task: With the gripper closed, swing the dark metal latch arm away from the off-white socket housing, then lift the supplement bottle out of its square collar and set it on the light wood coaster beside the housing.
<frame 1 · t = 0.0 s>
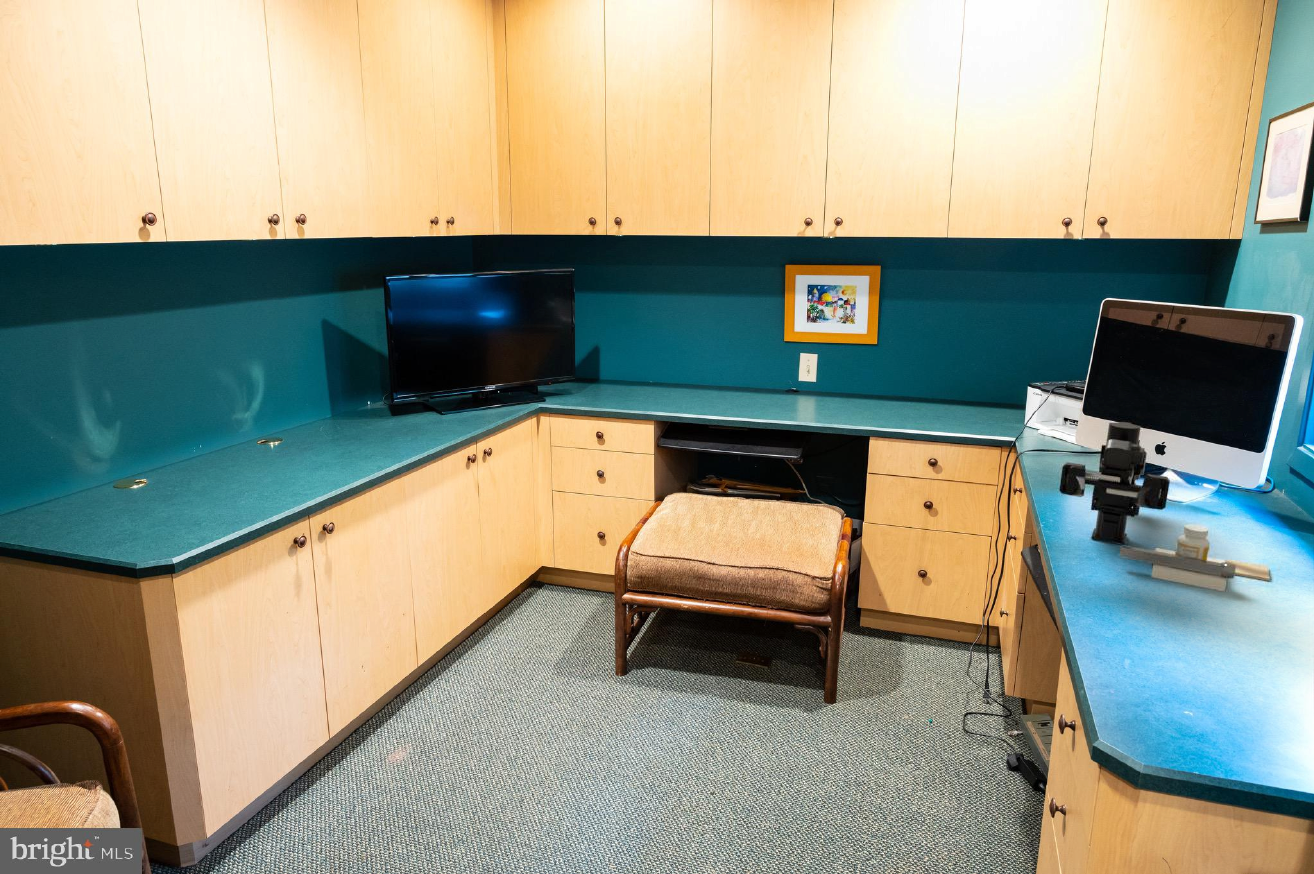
hand: (1109, 496, 163), 17 cm above the table, tool horizontal, fingers open, 9 cm apart
latch arm: (1176, 560, 168), point 3 cm above the table, hinge at 0.0°
socket housing: (1187, 573, 170), on the table
coaster: (1246, 570, 172), on the table
supplement bottle: (1187, 574, 170), resting in socket housing
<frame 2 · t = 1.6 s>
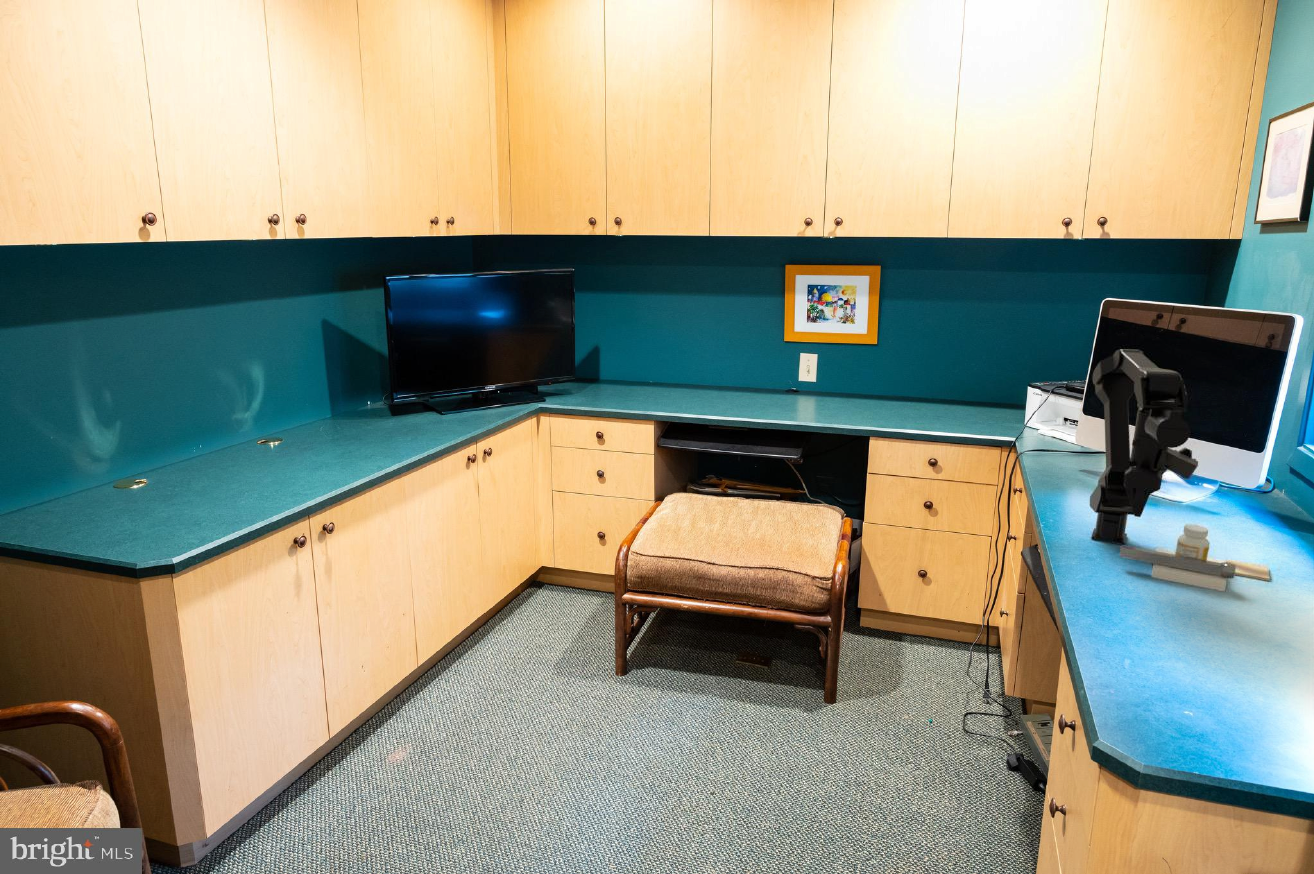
hand: (1138, 511, 172), 11 cm above the table, tool pointing down, fingers open, 8 cm apart
nothing on the table moved.
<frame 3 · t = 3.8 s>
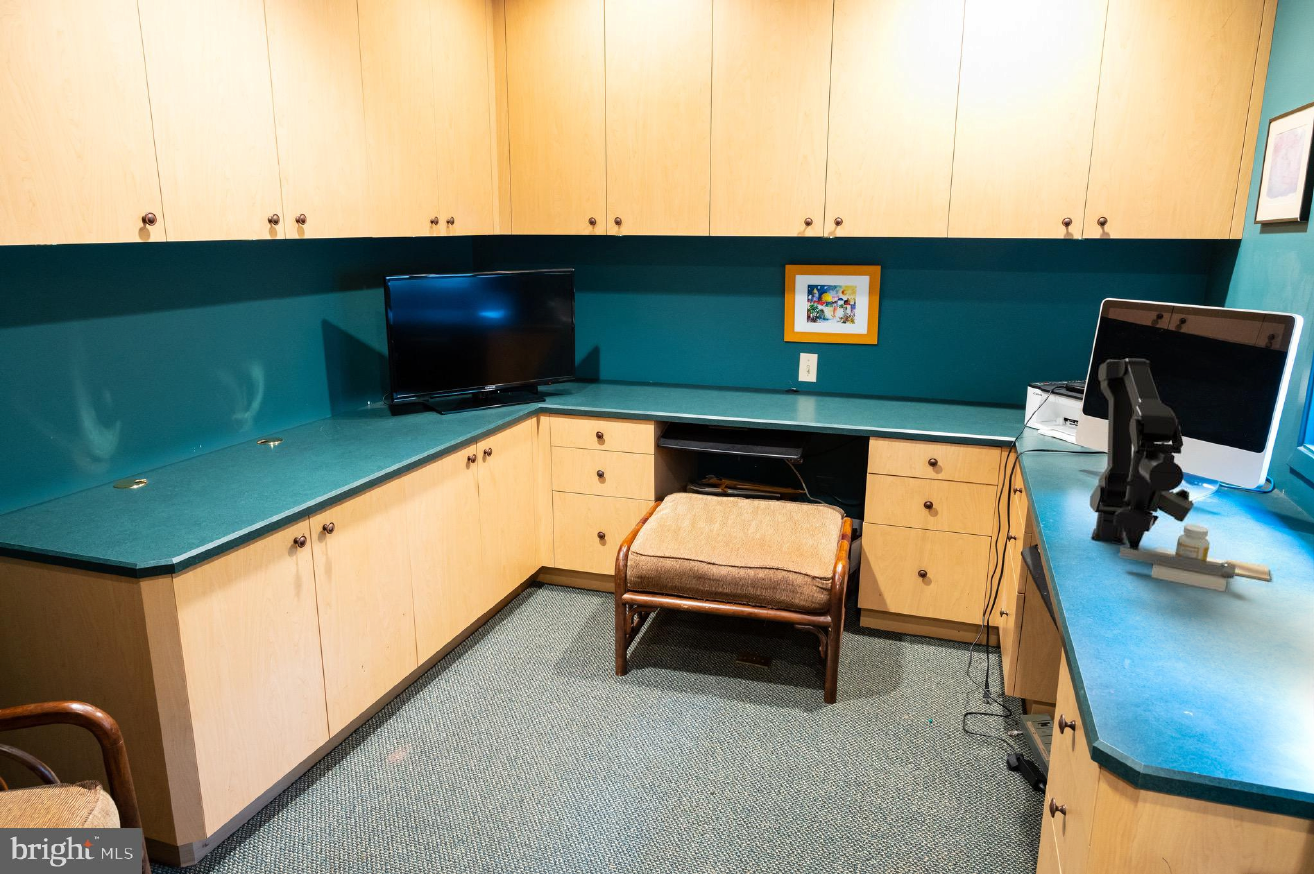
hand: (1133, 550, 173), 3 cm above the table, tool pointing down, fingers closed
latch arm: (1176, 560, 168), point 3 cm above the table, hinge at 0.1°, touching gripper
everything else where it was.
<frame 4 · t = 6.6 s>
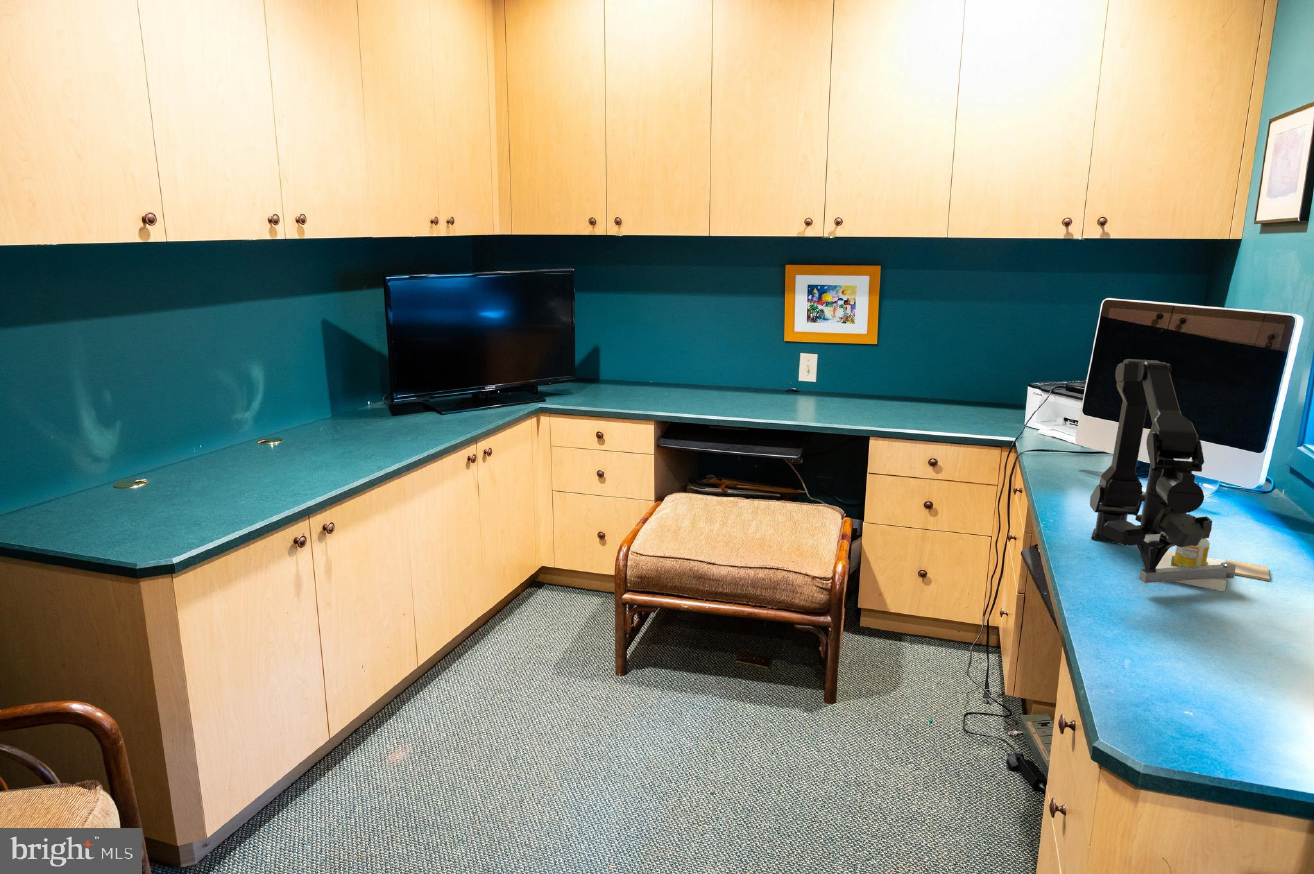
hand: (1149, 571, 162), 3 cm above the table, tool pointing down, fingers closed, pressing on latch arm
latch arm: (1188, 572, 162), point 3 cm above the table, hinge at 41.5°, touching gripper
everything else where it was.
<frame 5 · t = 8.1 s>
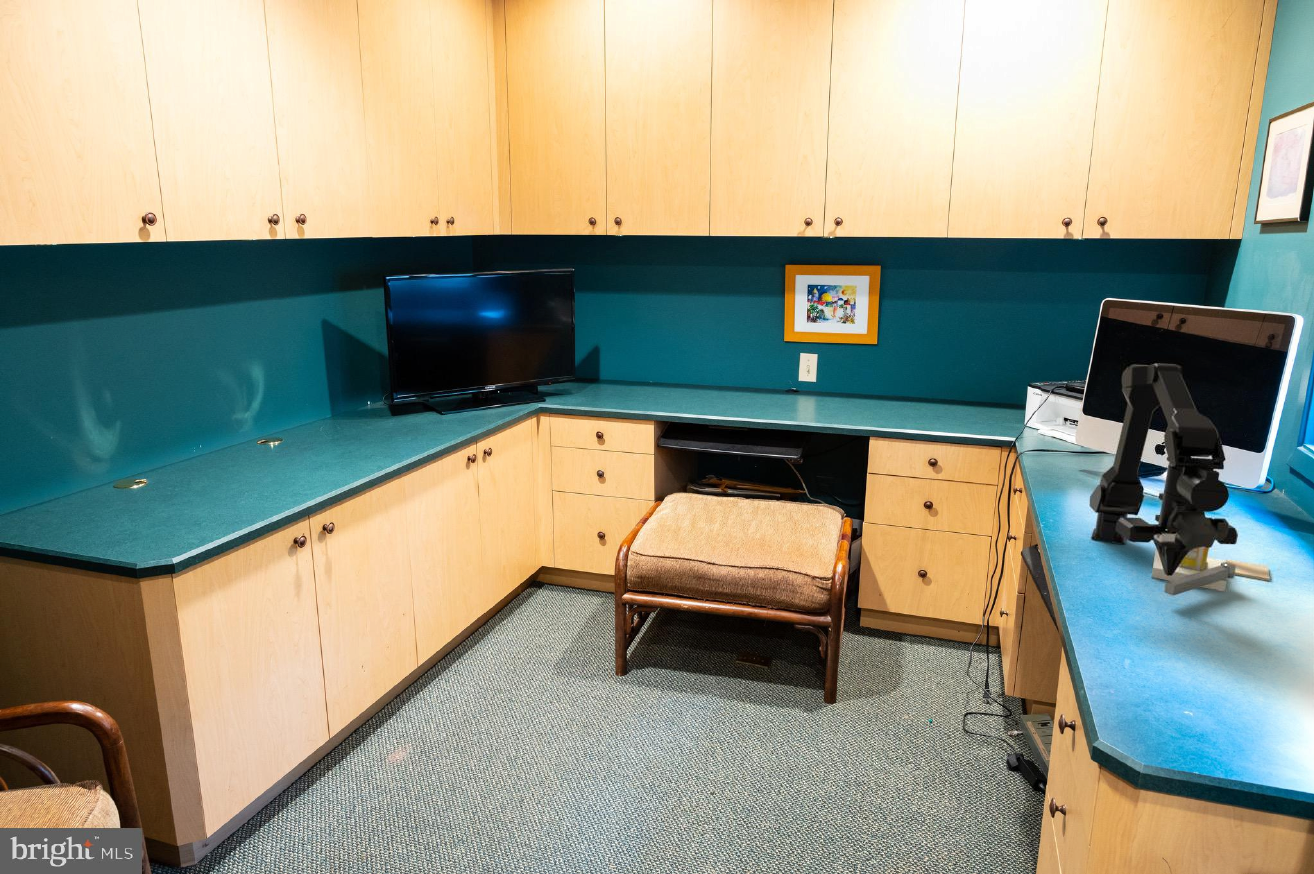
hand: (1168, 574, 157), 5 cm above the table, tool pointing down, fingers closed
latch arm: (1201, 578, 160), point 3 cm above the table, hinge at 59.8°
everything else where it was.
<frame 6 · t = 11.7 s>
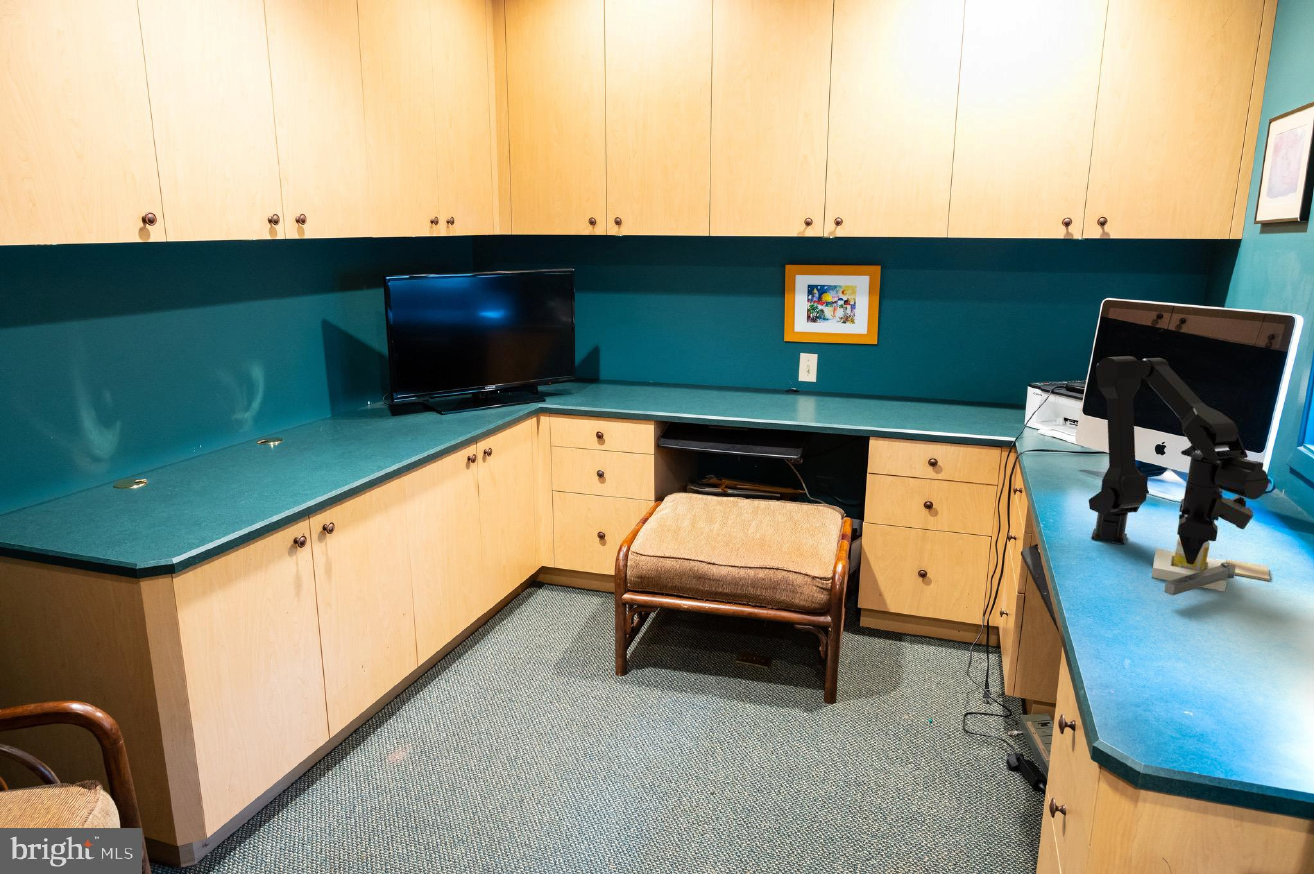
hand: (1190, 559, 170), 3 cm above the table, tool pointing down, fingers closed on supplement bottle, 5 cm apart
supplement bottle: (1187, 574, 170), resting in socket housing, touching gripper
everything else where it was.
when the fingers open (5 cm above the table, at t = 16.7 s): supplement bottle drops 1 cm, resting on coaster.
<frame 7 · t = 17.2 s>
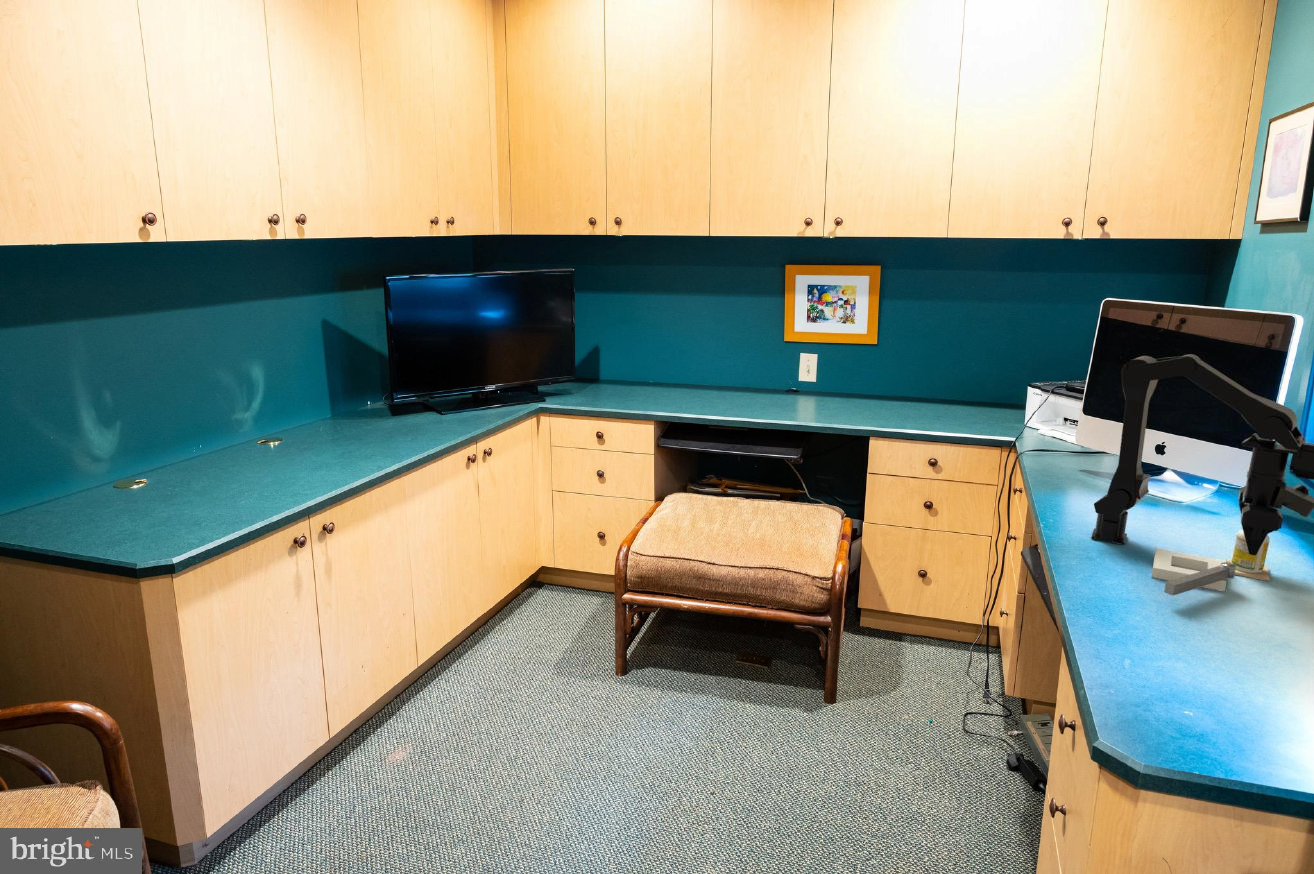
hand: (1251, 547, 171), 5 cm above the table, tool pointing down, fingers open, 9 cm apart
supplement bottle: (1246, 569, 172), resting on coaster
everything else where it was.
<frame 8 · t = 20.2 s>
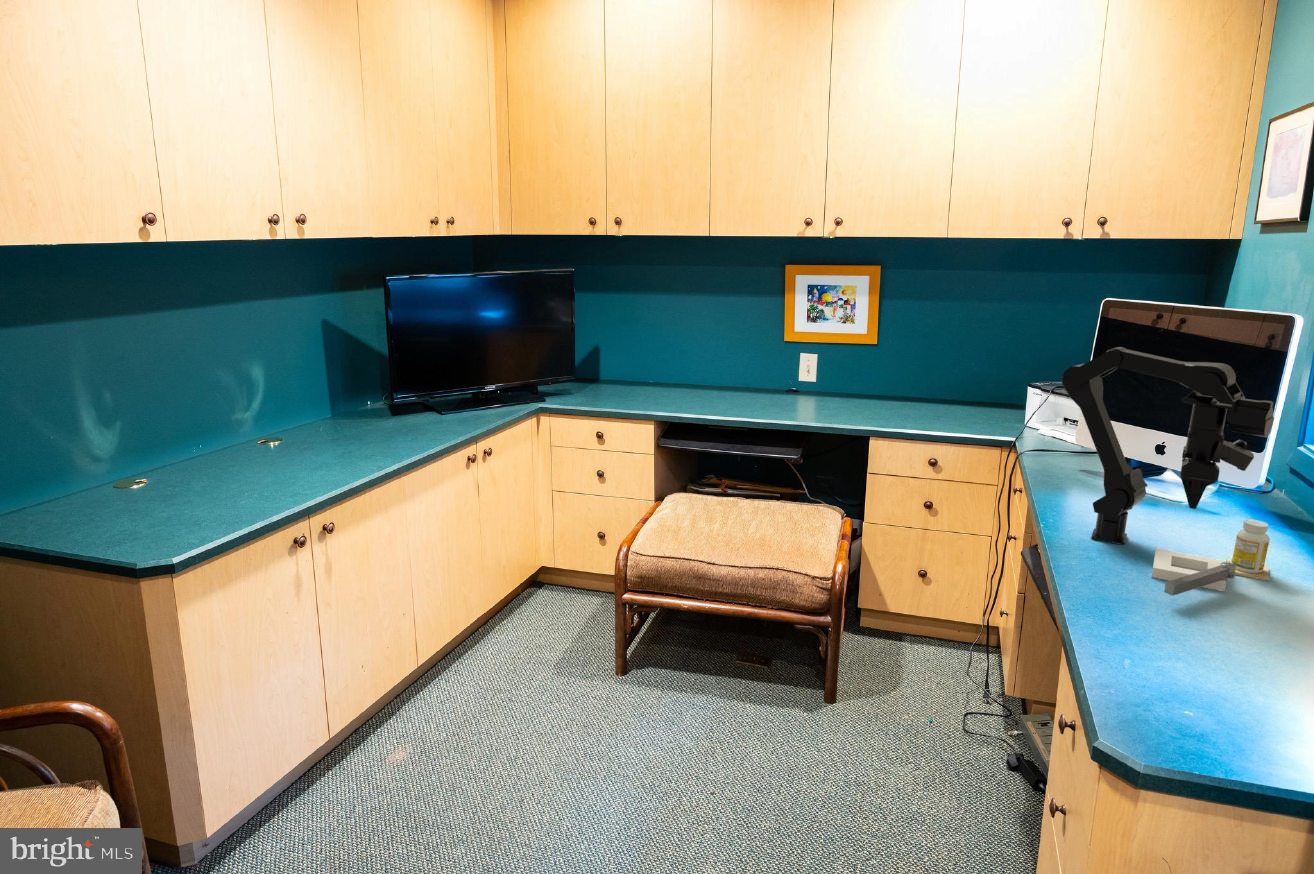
hand: (1192, 502, 175), 12 cm above the table, tool pointing down, fingers open, 9 cm apart
nothing on the table moved.
at the end: latch arm at +60° (first picture: +0°); supplement bottle inside the target area (0.4 cm from its centre), resting on coaster; supplement bottle tilted 0° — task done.
